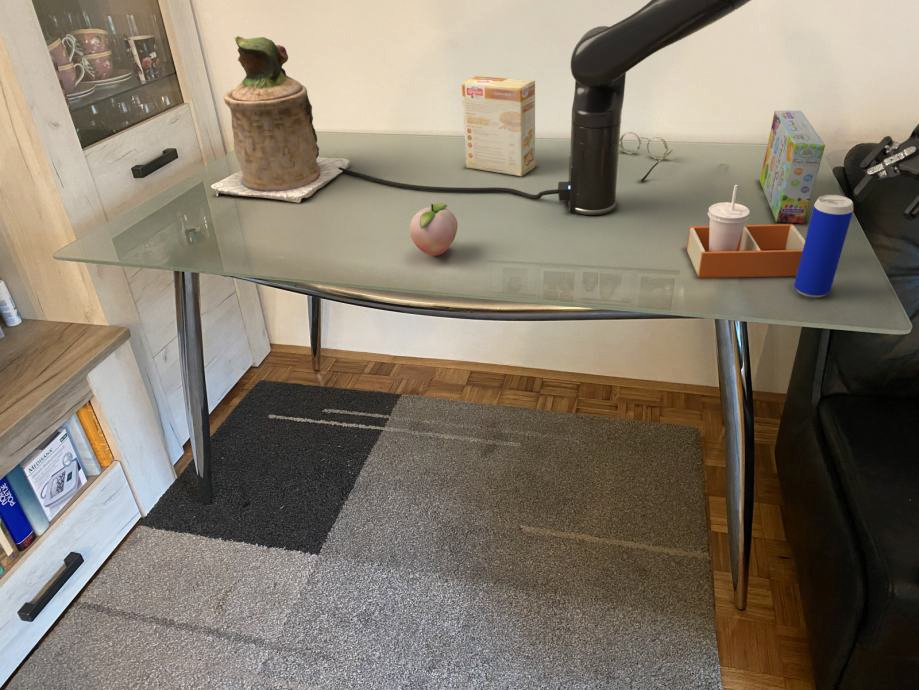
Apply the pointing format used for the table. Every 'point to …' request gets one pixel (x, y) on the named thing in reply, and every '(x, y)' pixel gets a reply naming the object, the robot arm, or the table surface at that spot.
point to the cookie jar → (273, 130)
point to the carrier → (748, 252)
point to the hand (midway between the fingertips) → (881, 208)
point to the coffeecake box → (499, 124)
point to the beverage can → (823, 245)
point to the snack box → (791, 166)
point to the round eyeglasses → (648, 150)
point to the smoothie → (726, 224)
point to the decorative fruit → (433, 229)
